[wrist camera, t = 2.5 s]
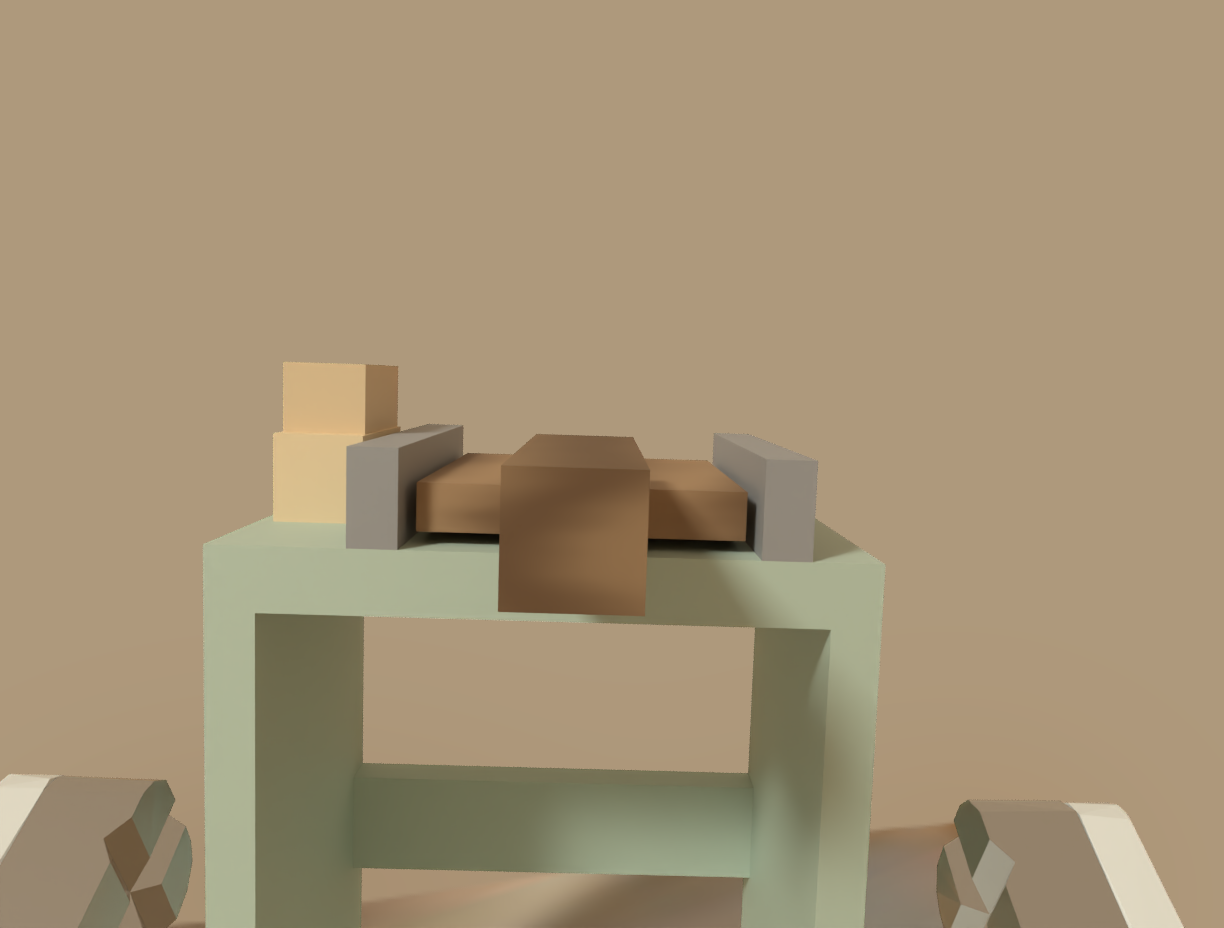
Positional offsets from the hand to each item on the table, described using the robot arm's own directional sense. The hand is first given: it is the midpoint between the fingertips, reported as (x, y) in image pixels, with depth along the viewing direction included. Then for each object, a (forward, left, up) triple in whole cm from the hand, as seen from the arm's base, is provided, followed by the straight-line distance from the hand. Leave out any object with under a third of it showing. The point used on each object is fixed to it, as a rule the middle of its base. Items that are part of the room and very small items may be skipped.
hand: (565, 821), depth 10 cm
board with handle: (0, +20, 0) cm, 20 cm away
